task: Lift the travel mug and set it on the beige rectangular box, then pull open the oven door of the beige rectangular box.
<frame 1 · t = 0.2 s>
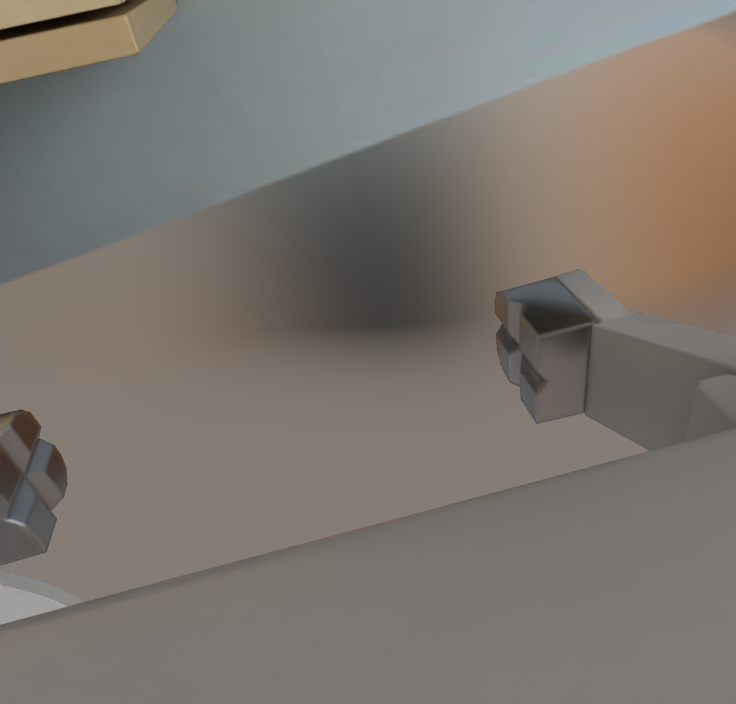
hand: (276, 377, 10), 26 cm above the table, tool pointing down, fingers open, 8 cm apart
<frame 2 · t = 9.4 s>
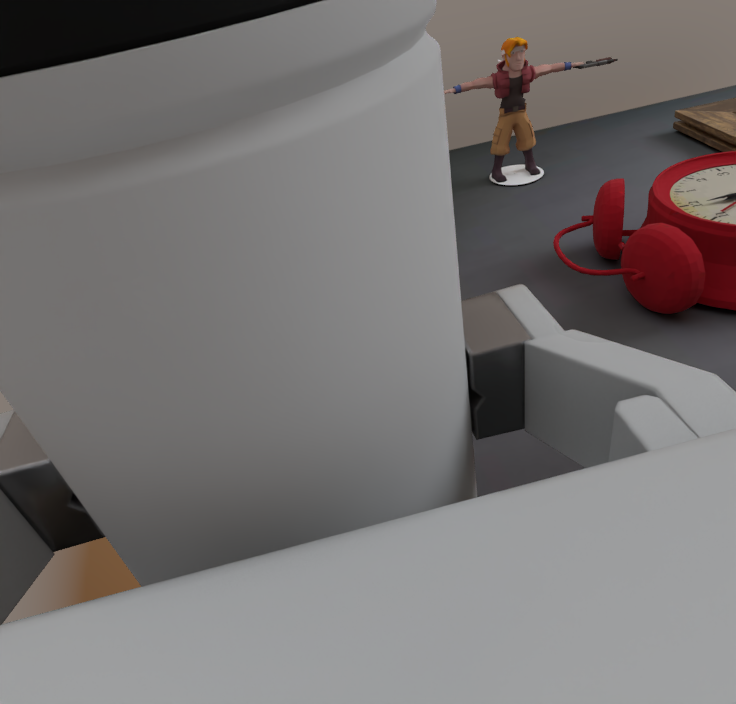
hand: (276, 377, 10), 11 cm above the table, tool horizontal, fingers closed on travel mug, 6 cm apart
alarm clock: (705, 270, 30), on the table
action figure: (527, 174, 44), on the table
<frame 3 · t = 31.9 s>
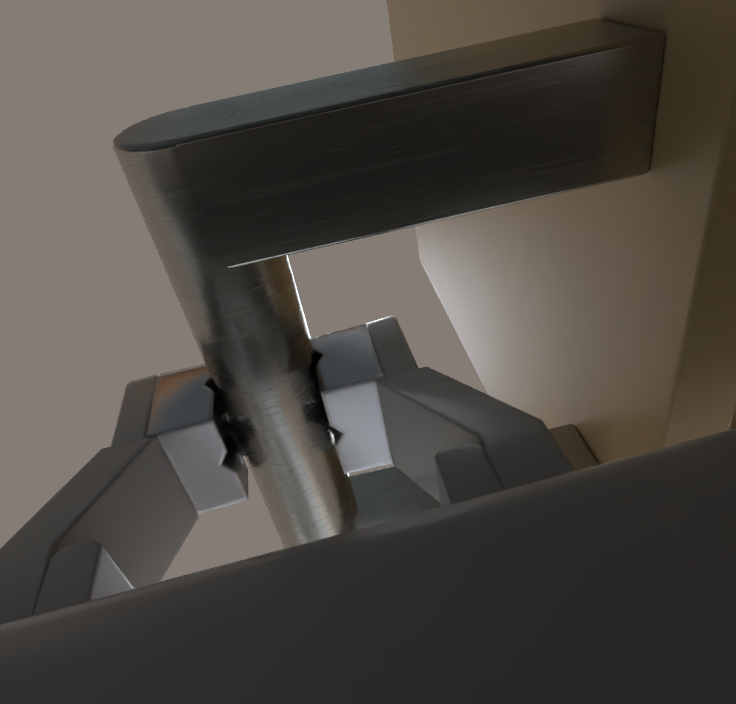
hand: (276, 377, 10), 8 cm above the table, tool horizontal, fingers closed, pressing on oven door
oven door: (373, 199, 16), point 8 cm above the table, hinge at 2.1°, touching gripper
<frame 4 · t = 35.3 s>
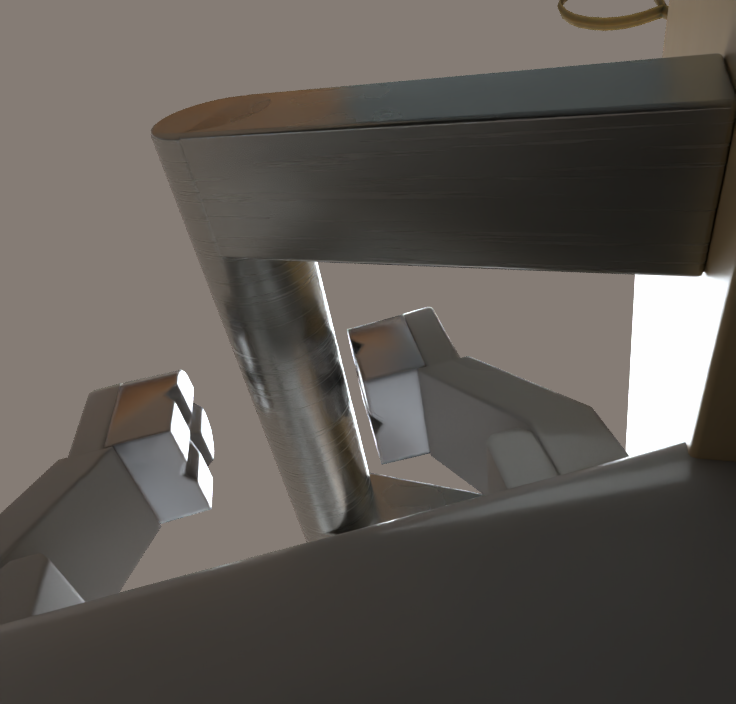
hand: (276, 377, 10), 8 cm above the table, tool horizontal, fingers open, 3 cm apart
oven door: (538, 199, 14), point 7 cm above the table, hinge at 32.0°, touching gripper
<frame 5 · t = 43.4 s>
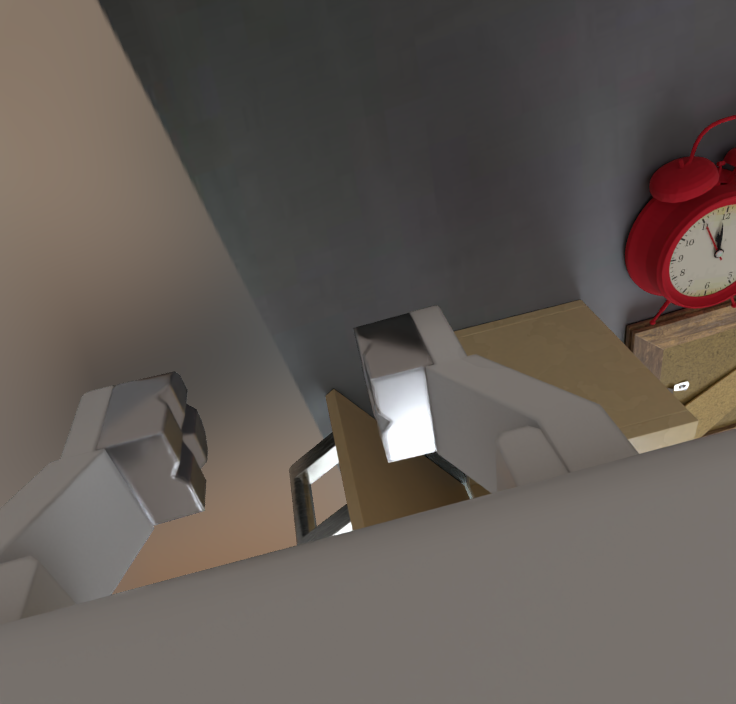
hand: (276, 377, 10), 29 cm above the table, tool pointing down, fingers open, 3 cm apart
picture frame: (735, 366, 56), on the table
oven door: (392, 528, 48), point 8 cm above the table, hinge at 31.9°
alarm clock: (688, 211, 45), on the table
beige rectangular box: (518, 401, 53), on the table
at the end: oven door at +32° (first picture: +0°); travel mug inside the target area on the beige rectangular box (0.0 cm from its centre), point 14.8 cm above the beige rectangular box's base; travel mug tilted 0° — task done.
